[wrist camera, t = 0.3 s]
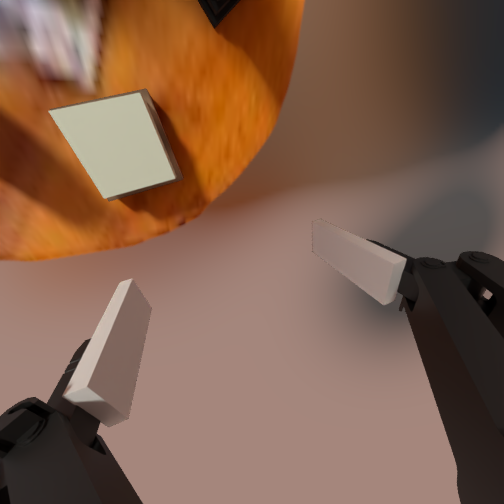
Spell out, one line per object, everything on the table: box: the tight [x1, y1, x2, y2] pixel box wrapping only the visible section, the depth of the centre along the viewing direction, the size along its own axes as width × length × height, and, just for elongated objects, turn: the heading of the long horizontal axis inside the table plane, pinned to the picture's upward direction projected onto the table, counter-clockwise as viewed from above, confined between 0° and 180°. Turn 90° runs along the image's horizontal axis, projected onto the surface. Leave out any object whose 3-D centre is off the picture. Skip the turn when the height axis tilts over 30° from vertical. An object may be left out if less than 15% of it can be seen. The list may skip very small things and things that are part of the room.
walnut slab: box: [50, 89, 183, 201], centre depth 29 cm, size 12×12×4 cm
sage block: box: [49, 93, 176, 199], centre depth 26 cm, size 10×10×4 cm
